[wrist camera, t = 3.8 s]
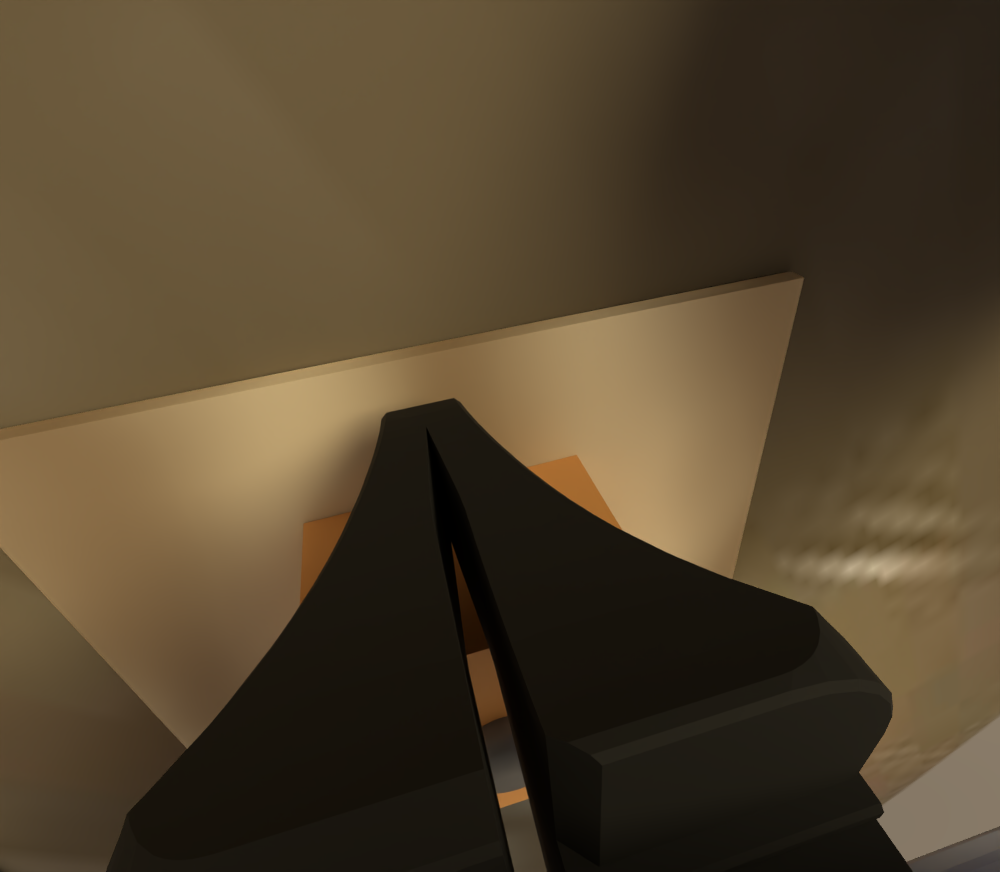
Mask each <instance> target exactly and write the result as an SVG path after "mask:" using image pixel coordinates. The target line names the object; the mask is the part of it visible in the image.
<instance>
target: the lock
mask: <svg viewBox="0 0 1000 872" xmlns="http://www.w3.org/2000/svg"><path fill="white" fill-rule="evenodd" d="M527 468H528V469H529V470H531V471H532V472H533V473H535V474H536V475H537V476H538V477H540V478H541V479H542V480H544V481H545V482H546V483H548V484H549V485H550V486H552V487H553V488H555V489H556V490H557V491H559V492H560V493H562V494H563V495H565V496H566V497H567V498H569V499H570V500H572V501H573V502H575V503H577V504H578V505H580V506H581V507H583V508H585V509H586V510H588V511H589V512H591V513H592V514H594V515H596V516H598V517H599V518H601V519H603V520H604V521H606V522H608V523H610V524H611V525H613V526H615V527H617V528H619V529H621V527H620V525H619V524H618V522H617V521H616V519H615V517H614V516H613V514H612V512H611V511H610V509H609V507H608V506H607V504H606V502H605V501H604V499H603V497H602V496H601V494H600V492H599V491H598V489H597V487H596V486H595V484H594V483H593V481H592V479H591V478H590V476H589V474H588V473H587V471H586V469H585V468H584V466H583V464H582V463H581V461H580V459H579V458H578V456H577V455H574V456H570V457H566V458H562V459H558V460H554V461H550V462H546V463H542V464H538V465H534V466H530V467H527ZM350 514H351V512H348V513H344V514H340V515H336V516H332V517H328V518H324V519H320V520H316V521H312V522H308V523H304V524H303V545H302V566H301V588H300V604H301V603H302V601H303V600H304V598H305V597H306V595H307V594H308V592H309V590H310V589H311V587H312V586H313V584H314V582H315V581H316V579H317V577H318V576H319V574H320V572H321V571H322V569H323V567H324V565H325V564H326V562H327V560H328V558H329V556H330V555H331V553H332V551H333V549H334V547H335V545H336V543H337V541H338V539H339V537H340V536H341V534H342V531H343V529H344V527H345V525H346V523H347V521H348V518H349V516H350ZM621 530H622V529H621ZM451 543H452V542H451ZM452 551H453V558H454V566H455V573H456V581H457V589H458V596H459V604H460V611H461V619H462V627H463V634H464V642H465V649H466V655H467V661H468V666H469V672H470V677H471V681H472V686H473V690H474V695H475V699H476V703H477V708H478V712H479V717H480V721H481V726H482V730H483V735H484V739H485V743H486V748H487V752H488V757H489V761H490V766H491V770H492V774H493V779H494V783H495V788H496V792H497V797H498V801H499V805H500V808H503V807H505V806H508V805H511V804H514V803H517V802H520V801H523V800H526V799H528V795H527V791H526V787H525V783H524V779H523V775H522V771H521V767H520V763H519V759H518V755H517V751H516V747H515V743H514V740H513V736H512V732H511V728H510V724H509V720H508V716H507V712H506V708H505V704H504V700H503V697H502V693H501V689H500V685H499V681H498V677H497V673H496V669H495V666H494V662H493V659H492V656H491V653H490V650H489V646H488V643H487V640H486V637H485V635H484V632H483V629H482V626H481V623H480V621H479V618H478V615H477V612H476V610H475V607H474V604H473V601H472V598H471V596H470V593H469V590H468V587H467V584H466V582H465V579H464V576H463V573H462V571H461V568H460V565H459V562H458V559H457V557H456V554H455V551H454V548H453V545H452Z"/></svg>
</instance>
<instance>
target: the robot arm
mask: <svg viewBox="0 0 1000 872" xmlns="http://www.w3.org/2000/svg"><path fill="white" fill-rule="evenodd" d="M451 542H452V543H451ZM452 545H453V548H454V551H455V554H456V557H457V559H458V562H459V565H460V568H461V571H462V573H463V576H464V579H465V582H466V584H467V587H468V590H469V593H470V596H471V598H472V601H473V604H474V607H475V610H476V612H477V615H478V618H479V621H480V623H481V626H482V629H483V632H484V635H485V637H486V640H487V643H488V646H489V650H490V653H491V656H492V659H493V662H494V666H495V669H496V673H497V677H498V681H499V685H500V689H501V693H502V697H503V700H504V704H505V708H506V712H507V716H508V720H509V724H510V728H511V732H512V736H513V740H514V743H515V747H516V751H517V755H518V759H519V763H520V767H521V771H522V775H523V779H524V783H525V787H526V791H527V795H528V799H529V803H530V807H531V811H532V815H533V819H534V822H535V826H536V830H537V834H538V838H539V842H540V846H541V850H542V854H543V858H544V862H545V866H546V870H547V872H1000V826H999V827H997V828H994V829H992V830H989V831H986V832H984V833H981V834H978V835H976V836H973V837H971V838H968V839H966V840H963V841H960V842H957V843H955V844H952V845H950V846H947V847H944V848H942V849H939V850H937V851H934V852H931V853H929V854H926V855H923V856H921V857H918V858H915V859H913V860H910V861H908V862H906V861H905V859H904V858H903V857H902V855H901V854H900V853H899V851H898V850H897V849H896V847H895V845H894V844H893V843H892V841H891V840H890V838H889V837H888V835H887V834H886V832H885V831H884V830H883V828H882V827H881V826H880V824H879V823H878V821H877V820H876V819H877V818H880V817H881V816H882V814H883V813H884V811H883V808H882V805H881V802H880V801H879V799H878V798H877V797H876V795H875V794H874V793H873V791H872V790H871V788H870V787H869V786H868V784H867V783H866V782H865V780H864V779H863V777H862V776H861V775H860V773H859V771H860V770H861V768H862V767H863V765H864V764H865V762H866V761H867V759H868V757H869V756H870V754H871V753H872V751H873V750H874V748H875V747H876V745H877V744H878V742H879V741H880V739H881V738H882V736H883V735H884V733H885V731H886V729H887V727H888V724H889V722H890V720H891V718H892V710H893V704H892V693H891V692H890V691H889V689H888V688H887V687H886V686H885V685H884V684H883V682H882V681H881V680H880V679H879V678H878V677H877V675H876V674H875V673H874V672H873V671H872V670H871V668H870V667H869V666H868V665H867V664H866V663H865V661H864V660H863V659H862V658H861V656H860V655H859V654H858V653H857V652H856V651H855V650H854V649H853V647H852V646H851V645H850V644H849V643H848V642H847V641H846V639H845V638H844V637H843V636H842V635H841V634H840V633H838V632H837V631H836V630H835V629H834V628H833V627H832V626H831V625H830V624H829V623H828V622H827V621H826V620H825V619H824V618H823V617H822V616H821V615H820V614H819V613H818V612H817V611H816V610H815V609H814V608H813V607H812V606H809V605H806V604H803V603H800V602H797V601H794V600H792V599H789V598H786V597H783V596H780V595H777V594H774V593H771V592H768V591H765V590H762V589H759V588H756V587H754V586H751V585H748V584H745V583H742V582H739V581H736V580H733V579H730V578H727V577H725V576H722V575H720V574H717V573H715V572H712V571H710V570H707V569H705V568H703V567H700V566H698V565H695V564H693V563H690V562H688V561H686V560H683V559H681V558H678V557H676V556H674V555H672V554H669V553H667V552H665V551H663V550H661V549H659V548H657V547H655V546H653V545H651V544H649V543H647V542H645V541H643V540H641V539H639V538H637V537H635V536H633V535H631V534H629V533H627V532H625V531H623V530H621V529H619V528H617V527H615V526H613V525H611V524H610V523H608V522H606V521H604V520H603V519H601V518H599V517H598V516H596V515H594V514H592V513H591V512H589V511H588V510H586V509H585V508H583V507H581V506H580V505H578V504H577V503H575V502H573V501H572V500H570V499H569V498H567V497H566V496H565V495H563V494H562V493H560V492H559V491H557V490H556V489H555V488H553V487H552V486H550V485H549V484H548V483H546V482H545V481H544V480H542V479H541V478H540V477H538V476H537V475H536V474H535V473H533V472H532V471H531V470H529V469H528V468H527V467H526V466H525V465H523V464H522V463H521V462H520V461H518V460H517V459H516V458H515V457H514V456H513V455H512V454H511V453H509V452H508V451H507V450H506V449H505V448H504V447H503V446H502V445H500V444H499V443H498V442H497V441H496V440H495V439H494V438H493V437H492V436H491V435H490V434H489V433H488V432H487V431H486V430H485V429H484V428H483V427H482V426H481V425H480V424H479V423H478V422H477V421H476V420H475V419H474V418H473V417H472V415H471V414H470V413H469V412H468V411H467V410H466V408H465V407H464V406H463V405H462V403H461V402H460V401H458V400H456V399H455V398H451V399H446V400H442V401H437V402H433V403H428V404H423V405H419V406H414V407H410V408H405V409H401V410H396V411H391V412H387V413H386V414H385V415H384V416H383V418H382V419H381V426H380V431H379V436H378V440H377V444H376V447H375V451H374V454H373V457H372V461H371V464H370V466H369V469H368V472H367V475H366V477H365V480H364V483H363V486H362V488H361V491H360V493H359V496H358V498H357V501H356V503H355V505H354V507H353V509H352V512H351V514H350V516H349V518H348V521H347V523H346V525H345V527H344V529H343V531H342V534H341V536H340V537H339V539H338V541H337V543H336V545H335V547H334V549H333V551H332V553H331V555H330V556H329V558H328V560H327V562H326V564H325V565H324V567H323V569H322V571H321V572H320V574H319V576H318V577H317V579H316V581H315V582H314V584H313V586H312V587H311V589H310V590H309V592H308V594H307V595H306V597H305V598H304V600H303V601H302V603H301V604H300V606H299V607H298V609H297V610H296V612H295V614H294V615H293V617H292V618H291V620H290V621H289V623H288V624H287V625H286V627H285V628H284V630H283V631H282V633H281V634H280V635H279V637H278V638H277V640H276V641H275V642H274V644H273V645H272V647H271V648H270V649H269V650H268V652H267V653H266V654H265V656H264V657H263V658H262V659H261V661H260V662H259V663H258V664H257V666H256V667H255V668H254V670H253V671H252V672H251V673H250V675H249V676H248V677H247V679H246V680H245V681H244V682H243V684H242V685H241V686H240V688H239V689H238V690H237V691H236V693H235V694H234V695H233V696H232V698H231V699H230V700H229V702H228V703H227V704H226V705H225V707H224V708H223V709H222V710H221V711H220V712H219V714H218V715H217V716H216V717H215V718H214V720H213V721H212V722H211V723H210V724H209V726H208V727H207V728H206V729H205V730H204V731H203V732H202V733H201V734H200V735H199V737H198V738H197V739H196V740H195V741H194V742H193V743H192V744H191V745H190V746H189V748H188V749H187V750H186V751H185V752H184V753H183V754H182V755H181V756H180V757H179V758H178V760H177V761H176V762H175V763H174V764H173V765H172V766H171V767H170V768H169V769H168V771H167V772H166V773H165V774H164V775H163V776H162V777H161V778H160V779H159V780H158V782H157V783H156V784H155V785H154V786H153V787H152V788H151V789H150V790H149V791H148V792H147V794H146V795H145V796H144V797H143V798H142V799H141V800H140V801H139V802H138V803H137V804H136V805H135V806H134V807H133V808H132V809H131V810H130V811H129V812H128V814H127V816H126V819H125V822H124V825H123V828H122V831H121V834H120V837H119V840H118V842H117V845H116V847H115V850H114V852H113V855H112V857H111V860H110V862H109V865H108V867H107V871H106V872H514V867H513V863H512V858H511V854H510V850H509V845H508V841H507V836H506V832H505V827H504V823H503V819H502V814H501V810H500V805H499V801H498V797H497V792H496V788H495V783H494V779H493V774H492V770H491V766H490V761H489V757H488V752H487V748H486V743H485V739H484V735H483V730H482V726H481V721H480V717H479V712H478V708H477V703H476V699H475V695H474V690H473V686H472V681H471V677H470V672H469V666H468V661H467V655H466V649H465V642H464V634H463V627H462V619H461V611H460V604H459V596H458V589H457V581H456V573H455V566H454V558H453V551H452Z"/></svg>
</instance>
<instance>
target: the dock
mask: <svg viewBox="0 0 1000 872" xmlns="http://www.w3.org/2000/svg"><path fill="white" fill-rule="evenodd" d="M803 281H804V277H802V276H800V275H798V274H796V273H794V272H792V271H789V272H784V273H779V274H774V275H769V276H764V277H759V278H754V279H749V280H744V281H739V282H734V283H729V284H724V285H719V286H714V287H709V288H704V289H699V290H694V291H689V292H684V293H679V294H674V295H669V296H664V297H659V298H654V299H649V300H644V301H639V302H634V303H629V304H624V305H619V306H614V307H609V308H604V309H599V310H594V311H589V312H584V313H579V314H574V315H569V316H564V317H559V318H554V319H549V320H544V321H539V322H534V323H529V324H524V325H519V326H514V327H509V328H504V329H499V330H494V331H489V332H484V333H479V334H474V335H469V336H464V337H459V338H454V339H449V340H444V341H439V342H434V343H429V344H424V345H419V346H414V347H409V348H404V349H399V350H394V351H389V352H384V353H379V354H374V355H369V356H364V357H359V358H354V359H349V360H344V361H339V362H334V363H329V364H324V365H319V366H314V367H309V368H304V369H299V370H293V371H288V372H283V373H278V374H273V375H268V376H263V377H258V378H253V379H248V380H243V381H238V382H233V383H228V384H223V385H218V386H213V387H208V388H203V389H198V390H193V391H188V392H183V393H178V394H173V395H168V396H163V397H158V398H153V399H148V400H143V401H138V402H133V403H128V404H123V405H118V406H113V407H108V408H103V409H98V410H93V411H88V412H83V413H78V414H73V415H68V416H63V417H58V418H53V419H48V420H43V421H38V422H33V423H28V424H23V425H18V426H13V427H8V428H3V429H0V548H1V549H2V550H3V551H4V552H5V553H6V554H7V555H8V556H9V557H10V558H11V559H12V561H13V562H14V563H15V564H16V565H17V566H18V567H19V568H20V569H21V570H22V571H23V572H24V574H25V575H26V576H27V577H28V578H29V579H30V580H31V581H32V582H33V583H34V584H35V585H36V586H37V588H38V589H39V590H40V591H41V592H42V593H43V594H44V595H45V596H46V597H47V598H48V599H49V600H50V602H51V603H52V604H53V605H54V606H55V607H56V608H57V609H58V610H59V611H60V612H61V613H62V615H63V616H64V617H65V618H66V619H67V620H68V621H69V622H70V623H71V624H72V625H73V626H74V627H75V629H76V630H77V631H78V632H79V633H80V634H81V635H82V636H83V637H84V638H85V639H86V640H87V641H88V643H89V644H90V645H91V646H92V647H93V648H94V649H95V650H96V651H97V652H98V653H99V654H100V655H101V657H102V658H103V659H104V660H105V661H106V662H107V663H108V664H109V665H110V666H111V667H112V668H113V670H114V671H115V672H116V673H117V674H118V675H119V676H120V677H121V678H122V679H123V680H124V681H125V682H126V684H127V685H128V686H129V687H130V688H131V689H132V690H133V691H134V692H135V693H136V694H137V695H138V696H139V698H140V699H141V700H142V701H143V702H144V703H145V704H146V705H147V706H148V707H149V708H150V709H151V711H152V712H153V713H154V714H155V715H156V716H157V717H158V718H159V719H160V720H161V721H162V722H163V723H164V725H165V726H166V727H167V728H168V729H169V730H170V731H171V732H172V733H173V734H174V735H175V736H176V737H177V739H178V740H179V741H180V742H181V743H182V744H183V745H184V746H185V747H186V748H187V749H188V748H189V746H190V745H191V744H192V743H193V742H194V741H195V740H196V739H197V738H198V737H199V735H200V734H201V733H202V732H203V731H204V730H205V729H206V728H207V727H208V726H209V724H210V723H211V722H212V721H213V720H214V718H215V717H216V716H217V715H218V714H219V712H220V711H221V710H222V709H223V708H224V707H225V705H226V704H227V703H228V702H229V700H230V699H231V698H232V696H233V695H234V694H235V693H236V691H237V690H238V689H239V688H240V686H241V685H242V684H243V682H244V681H245V680H246V679H247V677H248V676H249V675H250V673H251V672H252V671H253V670H254V668H255V667H256V666H257V664H258V663H259V662H260V661H261V659H262V658H263V657H264V656H265V654H266V653H267V652H268V650H269V649H270V648H271V647H272V645H273V644H274V642H275V641H276V640H277V638H278V637H279V635H280V634H281V633H282V631H283V630H284V628H285V627H286V625H287V624H288V623H289V621H290V620H291V618H292V617H293V615H294V614H295V612H296V610H297V609H298V607H299V606H300V588H301V566H302V545H303V524H304V523H308V522H312V521H316V520H320V519H324V518H328V517H332V516H336V515H340V514H344V513H348V512H352V509H353V507H354V505H355V503H356V501H357V498H358V496H359V493H360V491H361V488H362V486H363V483H364V480H365V477H366V475H367V472H368V469H369V466H370V464H371V461H372V457H373V454H374V451H375V447H376V444H377V440H378V436H379V431H380V426H381V419H382V418H383V416H384V415H385V414H386V413H387V412H391V411H396V410H401V409H405V408H410V407H414V406H419V405H423V404H428V403H433V402H437V401H442V400H446V399H451V398H455V399H456V400H458V401H460V402H461V403H462V405H463V406H464V407H465V408H466V410H467V411H468V412H469V413H470V414H471V415H472V417H473V418H474V419H475V420H476V421H477V422H478V423H479V424H480V425H481V426H482V427H483V428H484V429H485V430H486V431H487V432H488V433H489V434H490V435H491V436H492V437H493V438H494V439H495V440H496V441H497V442H498V443H499V444H500V445H502V446H503V447H504V448H505V449H506V450H507V451H508V452H509V453H511V454H512V455H513V456H514V457H515V458H516V459H517V460H518V461H520V462H521V463H522V464H523V465H525V466H526V467H530V466H534V465H538V464H542V463H546V462H550V461H554V460H558V459H562V458H566V457H570V456H574V455H577V456H578V458H579V459H580V461H581V463H582V464H583V466H584V468H585V469H586V471H587V473H588V474H589V476H590V478H591V479H592V481H593V483H594V484H595V486H596V487H597V489H598V491H599V492H600V494H601V496H602V497H603V499H604V501H605V502H606V504H607V506H608V507H609V509H610V511H611V512H612V514H613V516H614V517H615V519H616V521H617V522H618V524H619V525H620V527H621V529H622V530H623V531H625V532H627V533H629V534H631V535H633V536H635V537H637V538H639V539H641V540H643V541H645V542H647V543H649V544H651V545H653V546H655V547H657V548H659V549H661V550H663V551H665V552H667V553H669V554H672V555H674V556H676V557H678V558H681V559H683V560H686V561H688V562H690V563H693V564H695V565H698V566H700V567H703V568H705V569H707V570H710V571H712V572H715V573H717V574H720V575H722V576H725V577H727V578H730V579H732V578H733V574H734V570H735V565H736V561H737V557H738V553H739V549H740V544H741V540H742V536H743V532H744V528H745V524H746V519H747V515H748V511H749V507H750V503H751V498H752V494H753V490H754V486H755V482H756V477H757V473H758V469H759V465H760V461H761V457H762V452H763V448H764V444H765V440H766V436H767V431H768V427H769V423H770V419H771V415H772V411H773V406H774V402H775V398H776V394H777V390H778V385H779V381H780V377H781V373H782V369H783V364H784V360H785V356H786V352H787V348H788V344H789V339H790V335H791V331H792V327H793V323H794V318H795V314H796V310H797V306H798V302H799V297H800V293H801V289H802V285H803ZM500 810H501V814H502V819H503V823H504V827H505V832H506V836H507V841H508V845H509V850H510V854H511V858H512V863H513V867H514V872H547V870H546V866H545V862H544V858H543V854H542V850H541V846H540V842H539V838H538V834H537V830H536V826H535V822H534V819H533V815H532V811H531V807H530V803H529V799H526V800H523V801H520V802H517V803H514V804H511V805H508V806H505V807H503V808H500Z"/></svg>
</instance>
